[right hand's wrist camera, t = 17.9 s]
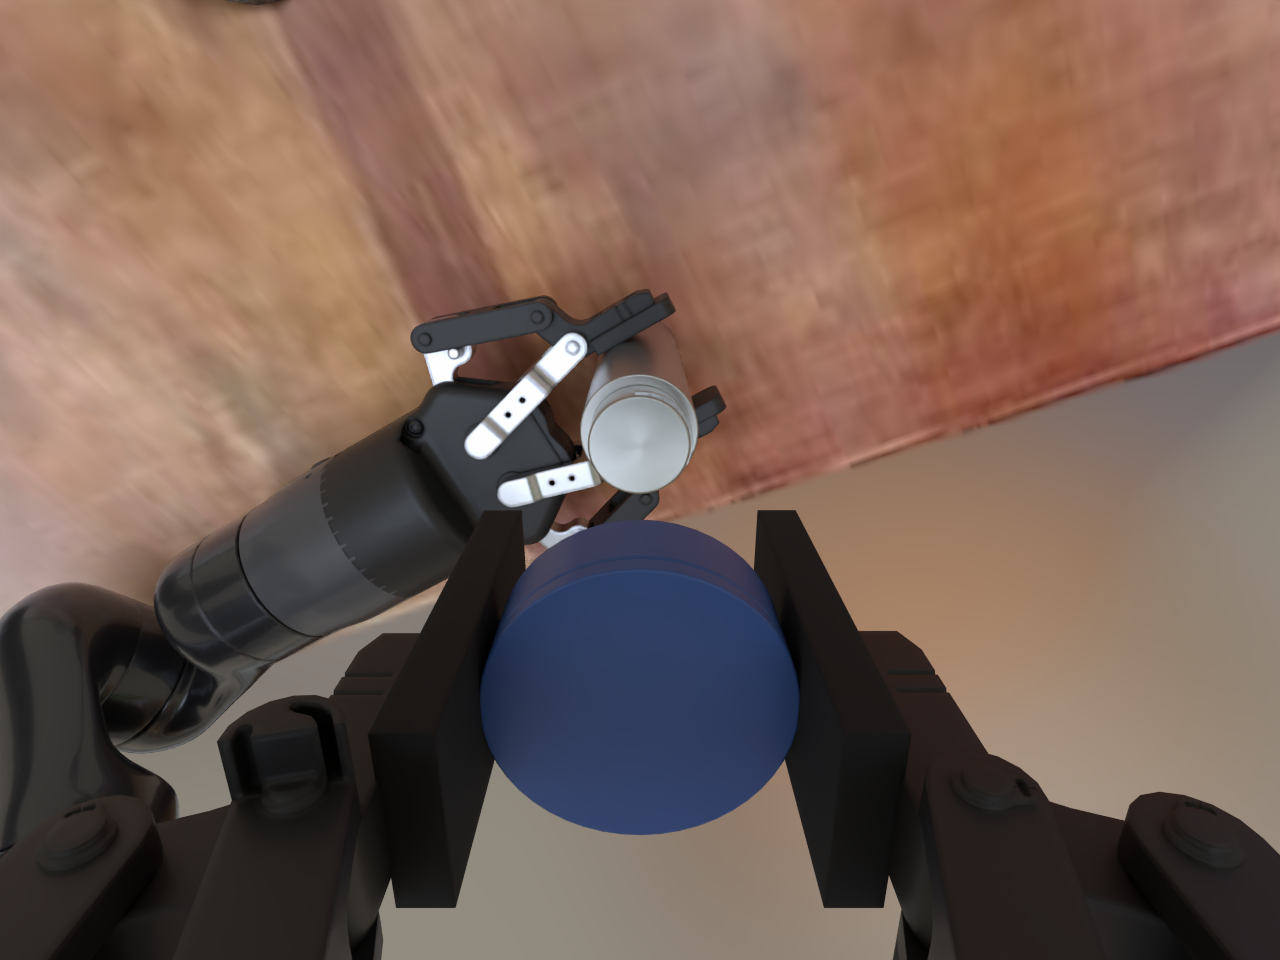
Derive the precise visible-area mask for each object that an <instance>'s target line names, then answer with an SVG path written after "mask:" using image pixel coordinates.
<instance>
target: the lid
mask: <svg viewBox="0 0 1280 960" xmlns="http://www.w3.org/2000/svg"><path fill="white" fill-rule="evenodd" d="M799 701H800V688H799V681H798V675H797V672H796V669H795V666H794V663H793V660H792V657H791V654H790V651H789V648H788V645H787V642H786V639H785V636H784V633H783V630H782V627H781V624H780V621H779V619H778V616H777V613H776V610H775V607H774V604H773V601H772V599H771V597H770V595H769V593H768V591H767V589H766V587H765V585H764V584H763V582H762V581H761V579H760V578H759V576H758V575H757V574H756V572H755V571H754V570H753V569H752V568H751V567H750V566H749V564H748V563H747V562H746V561H745V560H744V559H743V558H742V557H740V556H739V555H738V554H737V553H735V552H734V551H733V550H732V549H730V548H729V547H728V546H726V545H724V544H723V543H721V542H720V541H718V540H716V539H715V538H713V537H711V536H708V535H706V534H704V533H702V532H699V531H697V530H694V529H691V528H688V527H685V526H682V525H678V524H673V523H668V522H662V521H653V520H627V521H617V522H612V523H606V524H601V525H597V526H594V527H591V528H588V529H585V530H582V531H580V532H577V533H575V534H573V535H571V536H569V537H567V538H565V539H563V540H561V541H560V542H558V543H556V544H555V545H553V546H552V547H550V548H549V549H547V550H546V551H545V552H544V553H543V554H541V555H540V556H539V557H538V558H537V559H535V560H534V561H533V563H532V564H531V565H530V566H529V567H528V568H527V569H526V570H525V571H524V573H523V574H522V575H521V577H520V578H519V580H518V581H517V583H516V584H515V586H514V587H513V589H512V591H511V593H510V595H509V598H508V600H507V602H506V604H505V607H504V610H503V613H502V616H501V619H500V622H499V625H498V628H497V631H496V634H495V637H494V640H493V642H492V645H491V649H490V651H489V654H488V657H487V660H486V663H485V667H484V670H483V673H482V677H481V683H480V706H481V717H482V727H483V733H484V736H485V739H486V741H487V744H488V747H489V749H490V751H491V753H492V755H493V757H494V759H495V761H496V762H497V764H498V765H499V767H500V768H501V769H502V771H503V772H504V774H505V775H506V776H507V778H508V779H509V780H510V781H511V782H512V783H513V784H514V785H515V786H516V787H517V788H518V789H519V790H520V791H521V792H522V793H523V794H525V795H526V796H527V797H528V798H529V799H531V800H532V801H533V802H534V803H536V804H538V805H539V806H541V807H542V808H544V809H545V810H547V811H548V812H550V813H552V814H554V815H556V816H558V817H560V818H562V819H564V820H567V821H569V822H572V823H575V824H578V825H580V826H583V827H587V828H591V829H595V830H599V831H603V832H610V833H617V834H629V835H650V834H663V833H669V832H676V831H681V830H685V829H688V828H692V827H696V826H699V825H702V824H704V823H707V822H710V821H712V820H715V819H717V818H719V817H721V816H723V815H725V814H727V813H729V812H731V811H733V810H734V809H736V808H737V807H739V806H740V805H742V804H743V803H745V802H746V801H748V800H749V799H750V798H751V797H752V796H754V795H755V794H756V793H757V792H758V791H759V790H761V789H762V788H763V787H764V785H765V784H766V783H767V782H768V781H769V780H770V779H771V778H772V777H773V776H774V774H775V773H776V771H777V770H778V768H779V767H780V766H781V764H782V763H783V761H784V759H785V757H786V755H787V753H788V751H789V749H790V747H791V745H792V742H793V739H794V736H795V733H796V730H797V722H798V712H799Z"/></svg>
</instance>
